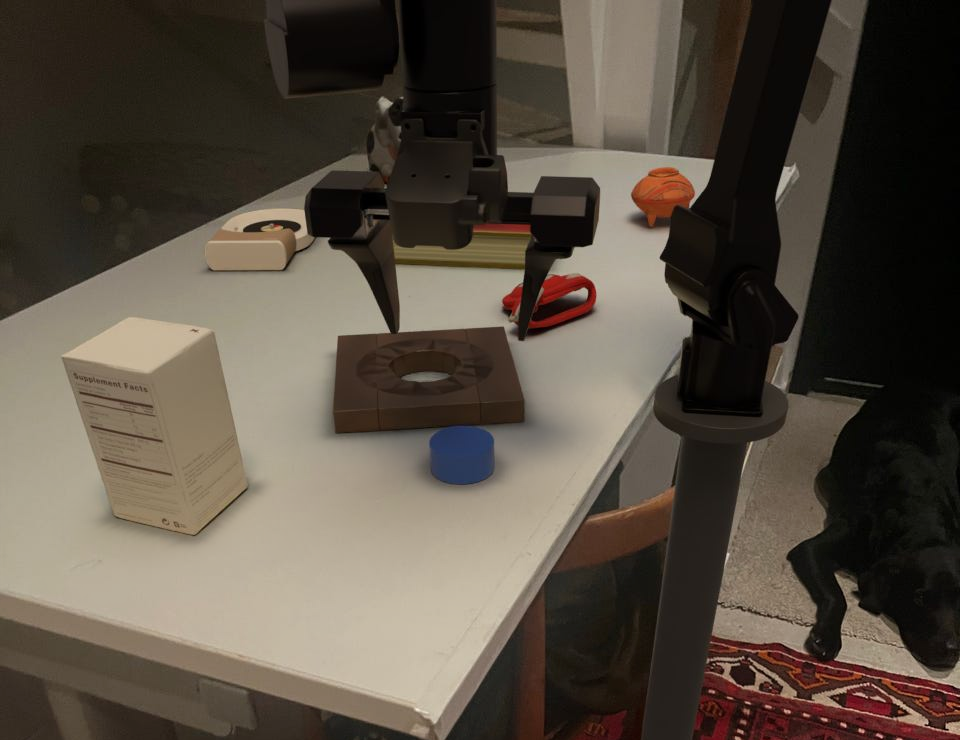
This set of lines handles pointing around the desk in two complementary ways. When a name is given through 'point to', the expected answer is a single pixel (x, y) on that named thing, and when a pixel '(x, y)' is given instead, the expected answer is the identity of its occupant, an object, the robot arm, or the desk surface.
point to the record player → (258, 240)
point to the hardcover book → (475, 249)
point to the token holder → (409, 404)
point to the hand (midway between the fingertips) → (458, 335)
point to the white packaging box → (159, 422)
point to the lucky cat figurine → (385, 137)
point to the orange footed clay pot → (662, 193)
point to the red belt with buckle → (553, 298)
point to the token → (462, 454)
